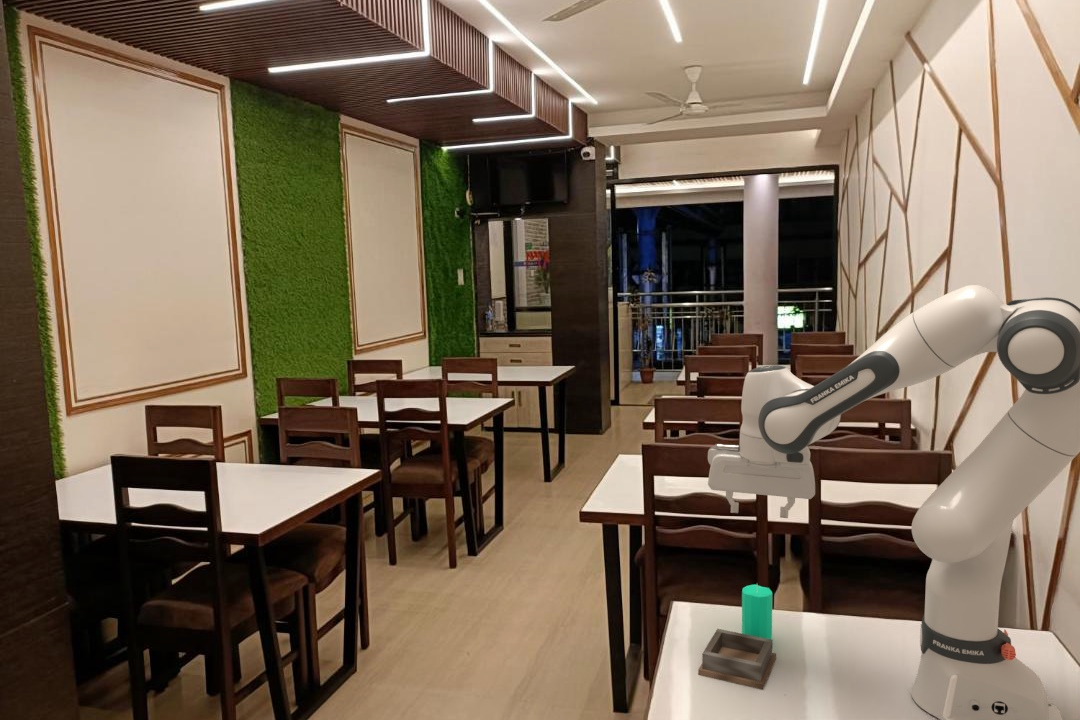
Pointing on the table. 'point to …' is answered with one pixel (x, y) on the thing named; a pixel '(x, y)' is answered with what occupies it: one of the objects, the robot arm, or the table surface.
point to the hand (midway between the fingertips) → (758, 514)
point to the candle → (757, 611)
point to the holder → (738, 658)
